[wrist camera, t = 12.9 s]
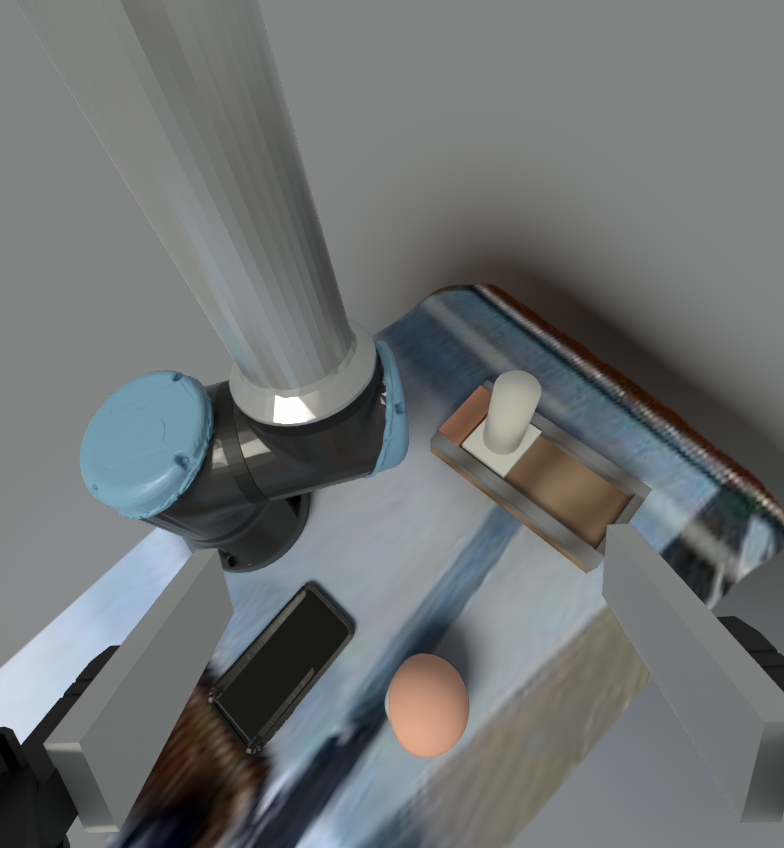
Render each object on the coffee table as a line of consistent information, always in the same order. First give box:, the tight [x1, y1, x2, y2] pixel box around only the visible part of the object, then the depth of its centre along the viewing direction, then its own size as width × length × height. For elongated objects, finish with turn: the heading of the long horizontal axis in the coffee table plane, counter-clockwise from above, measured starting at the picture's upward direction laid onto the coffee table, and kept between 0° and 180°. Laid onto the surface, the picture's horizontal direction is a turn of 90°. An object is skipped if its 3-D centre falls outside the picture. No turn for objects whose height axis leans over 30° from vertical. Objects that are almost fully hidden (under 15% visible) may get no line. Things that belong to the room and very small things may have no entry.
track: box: [431, 380, 652, 573], centre depth 51 cm, size 22×11×4 cm, turn 47°
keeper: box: [462, 370, 542, 480], centre depth 47 cm, size 6×7×12 cm
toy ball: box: [385, 653, 469, 757], centre depth 40 cm, size 8×8×8 cm
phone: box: [209, 585, 354, 754], centre depth 46 cm, size 8×1×15 cm
